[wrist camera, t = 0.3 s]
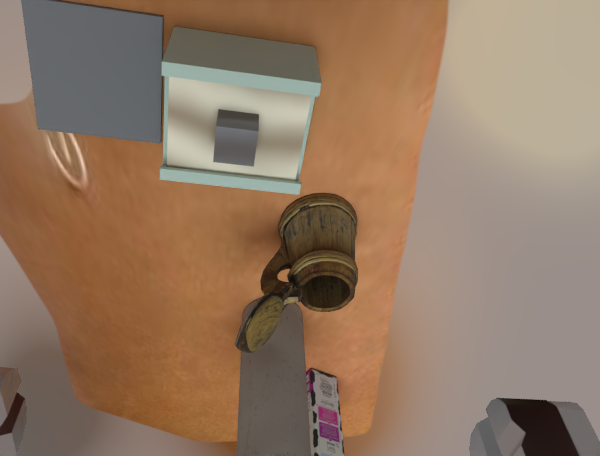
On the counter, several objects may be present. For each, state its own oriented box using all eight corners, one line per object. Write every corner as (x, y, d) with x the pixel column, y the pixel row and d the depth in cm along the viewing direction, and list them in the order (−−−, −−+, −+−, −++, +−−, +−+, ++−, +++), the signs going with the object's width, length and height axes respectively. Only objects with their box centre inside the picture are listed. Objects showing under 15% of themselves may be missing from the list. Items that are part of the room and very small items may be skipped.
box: (174, 26, 52) (161, 61, 46) (315, 46, 54) (321, 83, 47) (171, 135, 59) (159, 179, 53) (295, 150, 61) (299, 194, 54)
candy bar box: (309, 366, 84) (316, 474, 71) (337, 376, 85) (350, 483, 73) (271, 406, 89) (272, 512, 77) (299, 414, 91) (304, 520, 78)
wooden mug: (238, 194, 64) (231, 314, 50) (359, 191, 64) (385, 309, 50) (243, 254, 70) (237, 377, 55) (354, 251, 70) (376, 372, 56)
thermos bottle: (297, 338, 80) (309, 553, 58) (240, 334, 79) (229, 552, 57) (306, 298, 75) (323, 516, 53) (245, 293, 74) (236, 514, 52)
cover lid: (171, 60, 48) (164, 82, 44) (312, 80, 49) (315, 102, 46) (168, 162, 54) (162, 187, 51) (294, 176, 56) (296, 201, 52)
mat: (22, -6, 50) (20, -4, 49) (163, 15, 51) (162, 17, 51) (39, 127, 58) (38, 129, 57) (161, 141, 59) (160, 143, 59)
